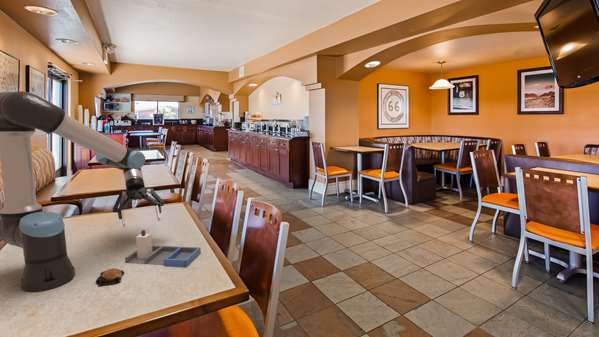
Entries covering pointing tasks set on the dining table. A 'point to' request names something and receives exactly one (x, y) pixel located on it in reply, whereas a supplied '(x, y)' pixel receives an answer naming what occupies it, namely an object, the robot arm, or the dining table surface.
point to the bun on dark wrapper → (110, 277)
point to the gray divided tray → (166, 256)
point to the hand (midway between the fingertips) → (142, 222)
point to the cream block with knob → (143, 245)
